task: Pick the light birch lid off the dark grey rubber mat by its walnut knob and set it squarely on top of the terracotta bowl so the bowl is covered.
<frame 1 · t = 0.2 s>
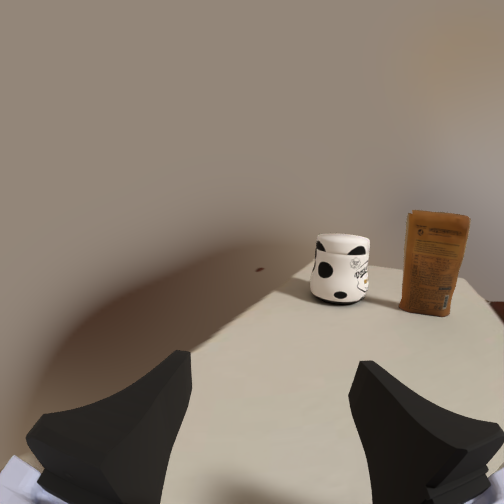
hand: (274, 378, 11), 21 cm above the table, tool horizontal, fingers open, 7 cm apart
pancake mix bag: (424, 313, 66), on the table
milk container: (337, 298, 80), on the table
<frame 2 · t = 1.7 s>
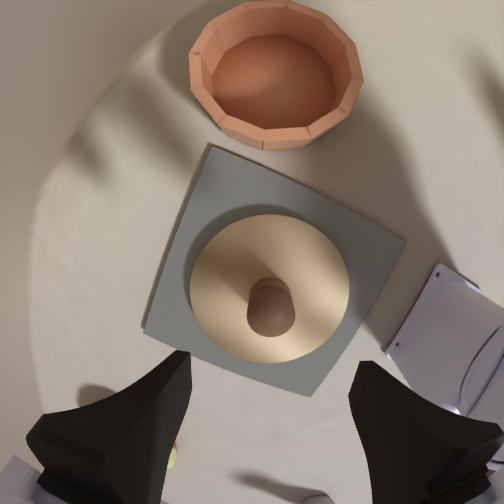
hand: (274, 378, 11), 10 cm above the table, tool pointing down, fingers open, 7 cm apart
bowl: (273, 85, 17), on the table
salt shaker: (316, 499, 29), on the table
mat: (269, 291, 21), on the table
lid: (269, 293, 21), resting on mat
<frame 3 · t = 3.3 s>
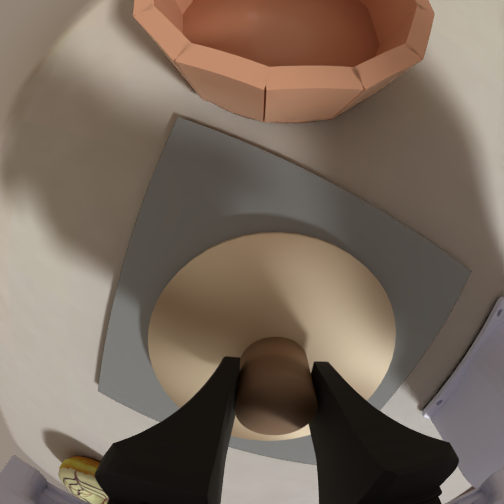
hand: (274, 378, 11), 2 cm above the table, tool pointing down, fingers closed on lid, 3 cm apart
bowl: (281, 26, 9), on the table
decorated donut: (113, 479, 18), on the table
mat: (273, 350, 13), on the table
lid: (273, 354, 13), resting on mat, touching gripper
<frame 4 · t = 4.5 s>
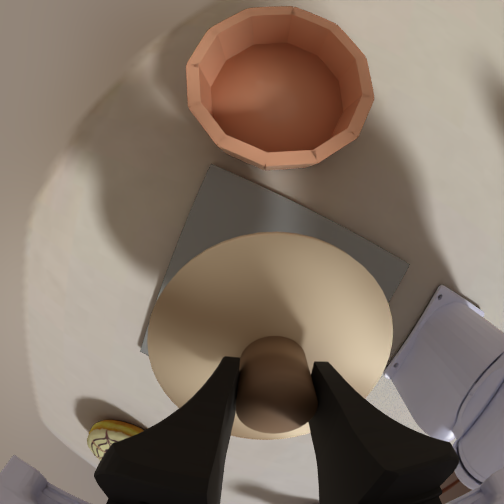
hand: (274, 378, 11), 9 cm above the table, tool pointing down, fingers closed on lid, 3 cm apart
bowl: (277, 98, 17), on the table
decorated donut: (135, 441, 26), on the table
mat: (269, 314, 20), on the table
lid: (272, 354, 13), point 7 cm above the table, touching gripper
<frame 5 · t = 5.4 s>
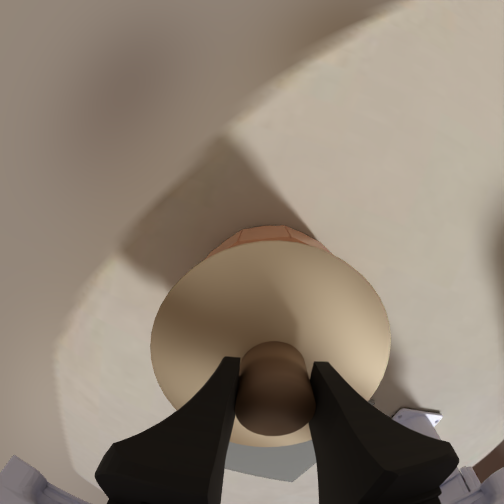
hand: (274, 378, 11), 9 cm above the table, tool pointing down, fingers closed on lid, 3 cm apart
bowl: (269, 296, 20), on the table
mat: (261, 434, 23), on the table
lid: (272, 360, 13), point 7 cm above the table, touching gripper
when the fingers open (7 cm above the table, at t = 5.9 s): lid stays where it is, resting on bowl.
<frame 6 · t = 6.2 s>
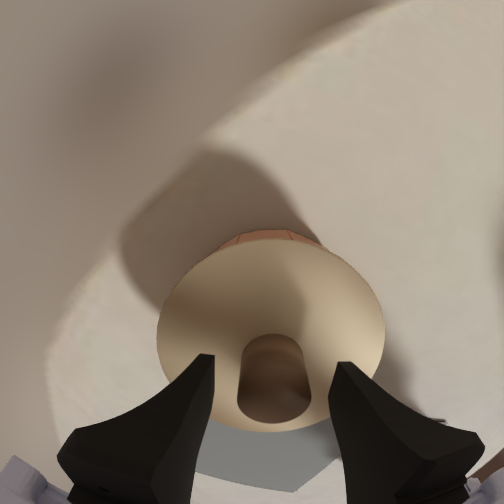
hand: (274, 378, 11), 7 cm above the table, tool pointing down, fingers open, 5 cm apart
bowl: (270, 306, 18), on the table
mat: (261, 447, 22), on the table
lid: (271, 350, 14), point 4 cm above the table, touching bowl
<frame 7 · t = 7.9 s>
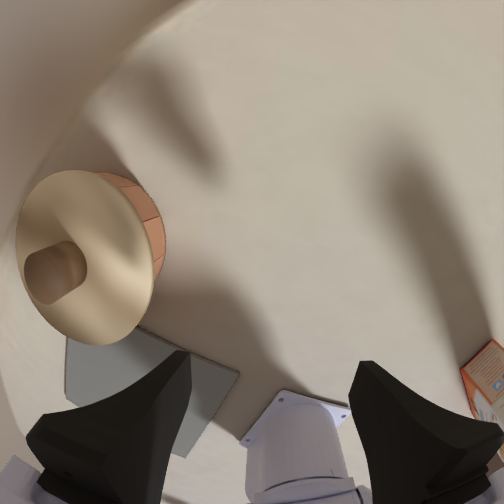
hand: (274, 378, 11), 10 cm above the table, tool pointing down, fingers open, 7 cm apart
cracker box: (480, 381, 23), on the table
bowl: (107, 239, 20), on the table
mat: (133, 391, 23), on the table
lid: (76, 260, 16), point 4 cm above the table, touching bowl
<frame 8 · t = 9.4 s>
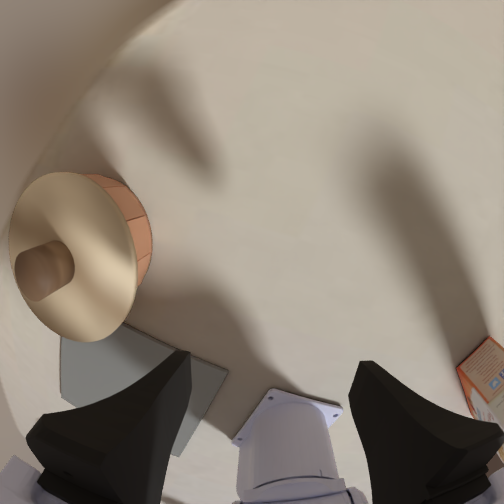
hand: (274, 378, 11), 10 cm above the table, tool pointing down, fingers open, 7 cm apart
cracker box: (478, 380, 23), on the table
bowl: (97, 239, 20), on the table
mat: (126, 389, 23), on the table
lid: (65, 259, 16), point 4 cm above the table, touching bowl
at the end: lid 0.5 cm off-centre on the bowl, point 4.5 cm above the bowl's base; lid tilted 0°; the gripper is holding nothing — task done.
